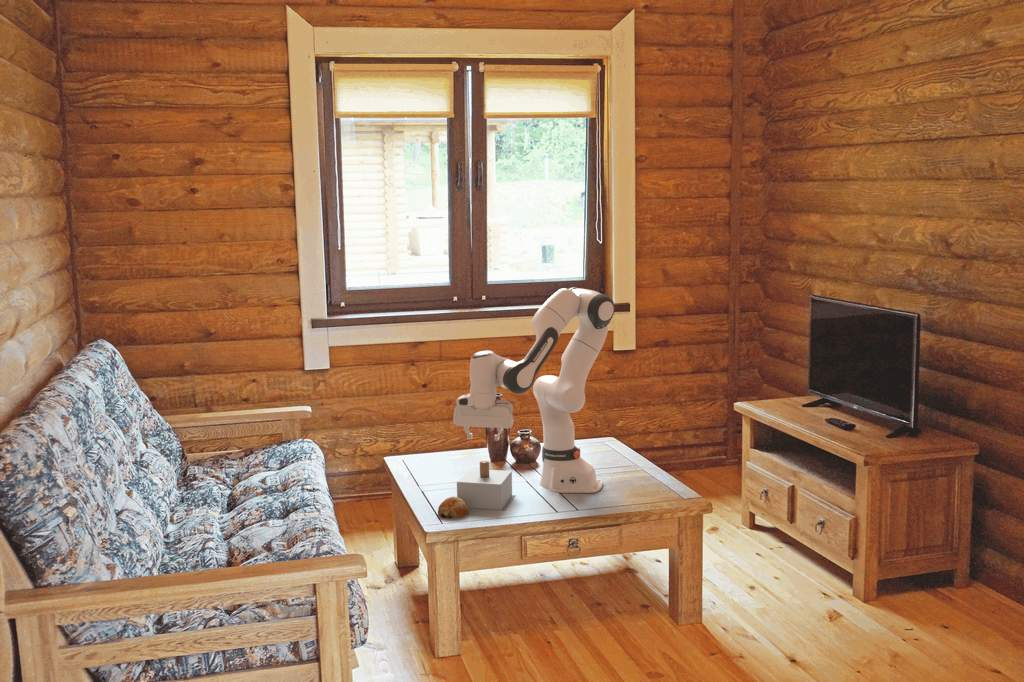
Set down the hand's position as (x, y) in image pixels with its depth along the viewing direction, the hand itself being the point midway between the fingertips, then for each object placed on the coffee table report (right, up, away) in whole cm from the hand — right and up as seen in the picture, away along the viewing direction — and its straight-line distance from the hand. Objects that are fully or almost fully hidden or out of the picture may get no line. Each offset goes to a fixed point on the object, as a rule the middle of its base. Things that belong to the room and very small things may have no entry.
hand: (483, 439), depth 346 cm
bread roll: (-10, -25, -8) cm, 28 cm away
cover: (+1, -21, +4) cm, 22 cm away
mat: (+1, -22, +4) cm, 22 cm away
